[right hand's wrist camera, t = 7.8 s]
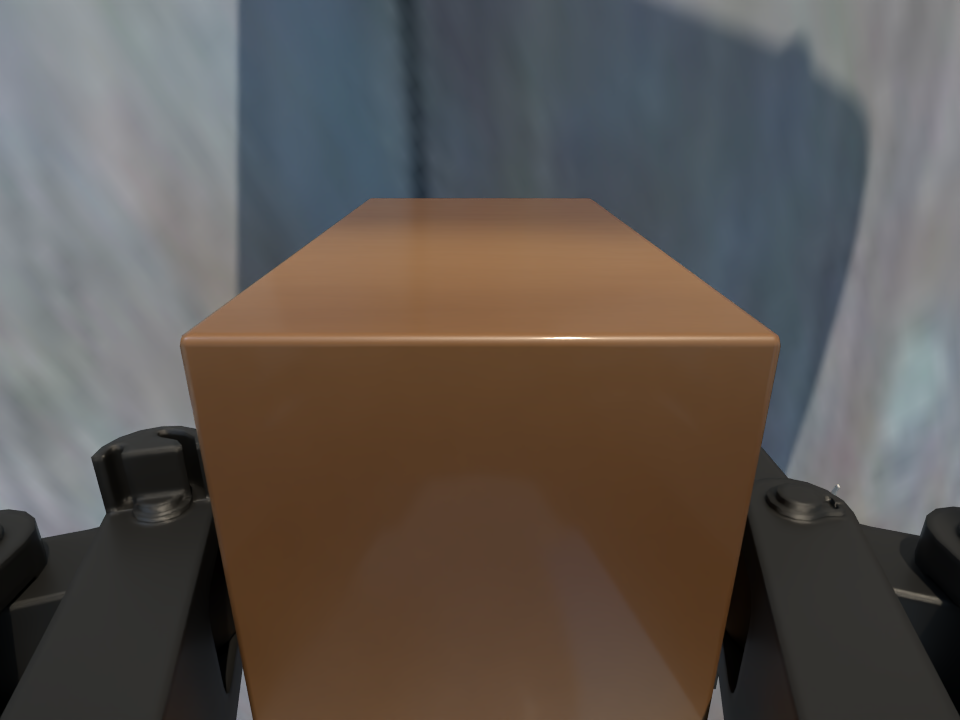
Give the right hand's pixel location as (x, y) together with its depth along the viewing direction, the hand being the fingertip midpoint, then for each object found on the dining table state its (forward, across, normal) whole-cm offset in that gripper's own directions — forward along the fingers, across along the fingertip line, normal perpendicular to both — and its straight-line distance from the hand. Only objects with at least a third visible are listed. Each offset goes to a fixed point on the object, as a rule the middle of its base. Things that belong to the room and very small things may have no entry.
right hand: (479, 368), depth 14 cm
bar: (+1, 0, -9) cm, 9 cm away
